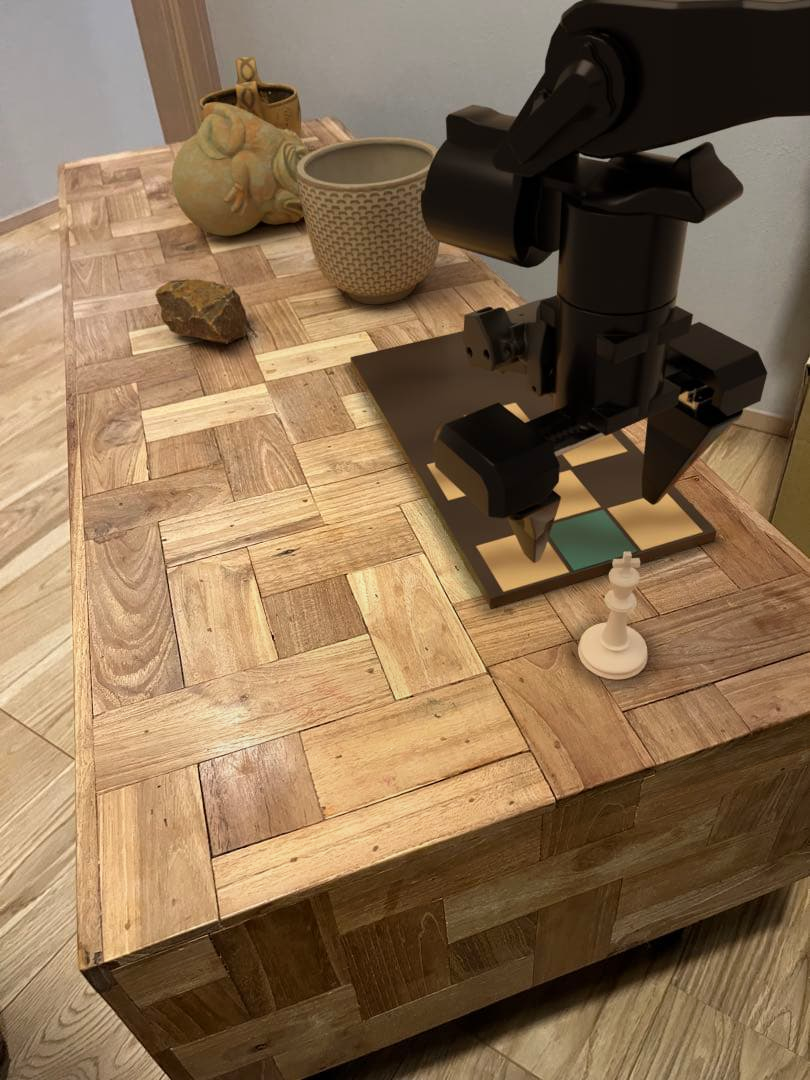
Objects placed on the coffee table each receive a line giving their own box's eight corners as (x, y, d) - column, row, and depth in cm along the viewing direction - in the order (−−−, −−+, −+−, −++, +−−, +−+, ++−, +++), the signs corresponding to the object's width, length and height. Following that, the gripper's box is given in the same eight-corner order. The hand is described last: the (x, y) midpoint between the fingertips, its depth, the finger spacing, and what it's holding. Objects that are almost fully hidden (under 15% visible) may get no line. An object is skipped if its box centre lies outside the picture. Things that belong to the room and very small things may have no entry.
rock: (175, 372, 94) (260, 353, 96) (160, 322, 90) (250, 303, 92) (163, 322, 104) (241, 306, 106) (150, 275, 100) (231, 259, 102)
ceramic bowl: (311, 177, 139) (297, 78, 129) (211, 190, 138) (188, 91, 128) (304, 138, 156) (290, 47, 146) (214, 149, 155) (194, 58, 145)
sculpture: (244, 274, 115) (351, 184, 117) (142, 146, 107) (258, 51, 109) (227, 278, 131) (321, 199, 133) (137, 167, 123) (239, 84, 125)
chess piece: (653, 678, 58) (675, 579, 51) (583, 681, 58) (595, 582, 52) (639, 626, 62) (658, 526, 55) (573, 628, 62) (583, 530, 55)
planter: (400, 333, 97) (388, 196, 87) (287, 304, 105) (263, 175, 94) (472, 274, 108) (470, 145, 97) (364, 252, 115) (351, 129, 104)
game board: (714, 541, 68) (717, 529, 67) (490, 609, 64) (490, 597, 63) (514, 328, 96) (514, 317, 96) (351, 366, 93) (349, 356, 92)
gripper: (647, 195, 48) (621, 417, 59) (370, 285, 42) (395, 515, 53) (803, 256, 41) (741, 498, 51) (494, 376, 35) (495, 623, 45)
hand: (592, 528), depth 50 cm, fingers open, 9 cm apart
